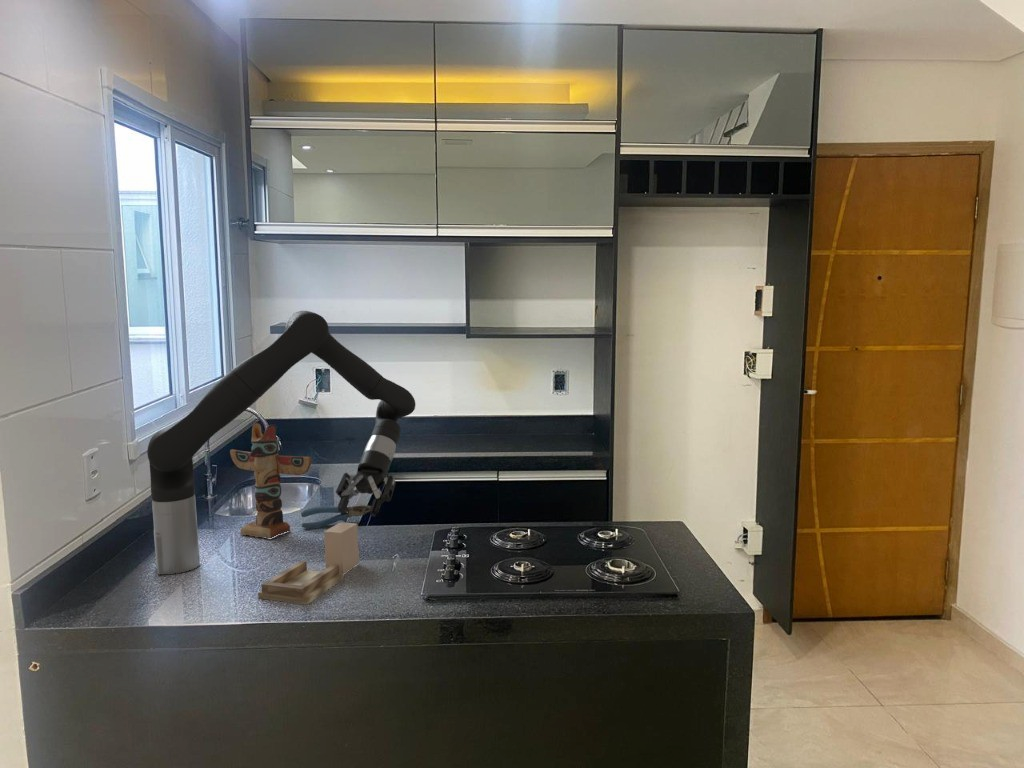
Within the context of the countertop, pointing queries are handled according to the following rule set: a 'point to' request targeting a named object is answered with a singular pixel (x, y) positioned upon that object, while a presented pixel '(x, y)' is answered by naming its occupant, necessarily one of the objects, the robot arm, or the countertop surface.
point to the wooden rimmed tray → (300, 584)
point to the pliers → (352, 511)
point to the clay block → (342, 546)
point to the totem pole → (268, 480)
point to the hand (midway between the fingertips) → (356, 513)
